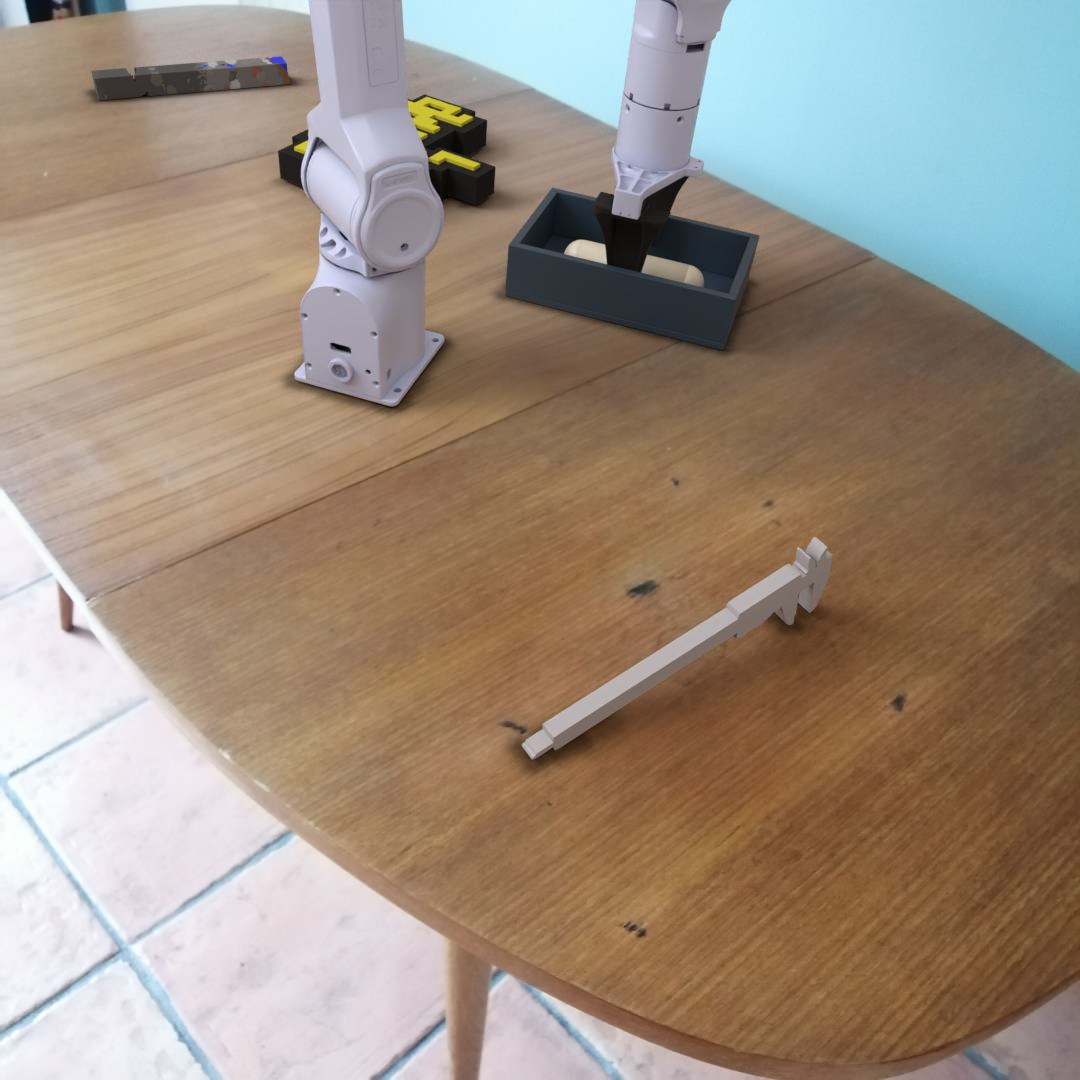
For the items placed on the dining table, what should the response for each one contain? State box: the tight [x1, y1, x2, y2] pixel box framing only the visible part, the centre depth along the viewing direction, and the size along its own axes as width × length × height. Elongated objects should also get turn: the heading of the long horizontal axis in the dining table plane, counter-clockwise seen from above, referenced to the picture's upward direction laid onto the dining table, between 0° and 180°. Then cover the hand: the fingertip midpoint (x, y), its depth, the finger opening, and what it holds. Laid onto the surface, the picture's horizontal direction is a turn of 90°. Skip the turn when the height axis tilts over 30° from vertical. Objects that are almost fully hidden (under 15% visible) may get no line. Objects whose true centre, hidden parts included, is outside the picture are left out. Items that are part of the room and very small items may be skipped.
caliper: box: [521, 536, 833, 760], centre depth 54 cm, size 20×1×6 cm, turn 124°
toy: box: [277, 94, 497, 206], centre depth 97 cm, size 18×3×20 cm
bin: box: [504, 187, 760, 351], centre depth 84 cm, size 11×18×5 cm, turn 72°
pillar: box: [90, 56, 292, 101], centre depth 107 cm, size 2×2×20 cm
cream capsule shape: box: [564, 240, 704, 288], centre depth 83 cm, size 3×12×3 cm, turn 72°
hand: (633, 262), depth 83 cm, fingers open, 7 cm apart
